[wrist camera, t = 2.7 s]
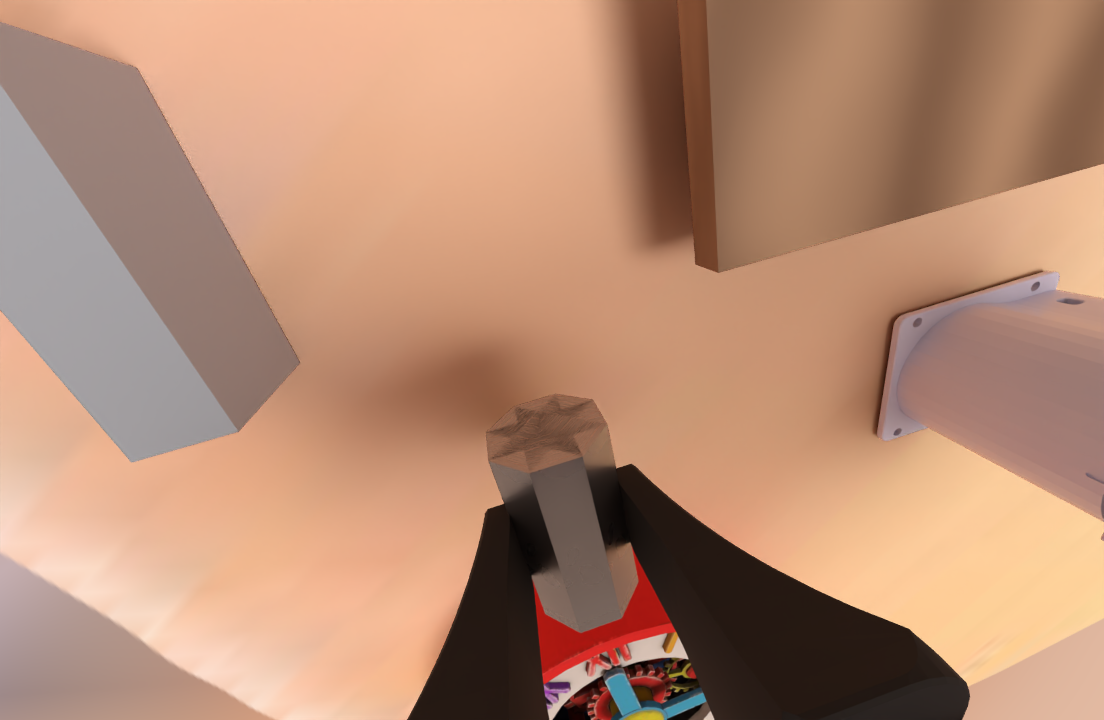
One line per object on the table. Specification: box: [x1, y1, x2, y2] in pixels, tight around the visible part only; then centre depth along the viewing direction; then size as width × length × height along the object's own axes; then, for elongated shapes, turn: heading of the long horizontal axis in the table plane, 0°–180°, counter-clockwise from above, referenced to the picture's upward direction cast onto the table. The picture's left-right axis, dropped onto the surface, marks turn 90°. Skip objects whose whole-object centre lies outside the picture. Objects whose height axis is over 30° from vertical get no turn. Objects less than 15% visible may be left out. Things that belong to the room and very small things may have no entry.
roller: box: [486, 394, 639, 633], centre depth 12 cm, size 3×6×3 cm, turn 13°
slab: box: [677, 0, 1104, 273], centre depth 13 cm, size 16×9×2 cm, turn 103°
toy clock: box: [533, 548, 714, 720], centre depth 25 cm, size 20×6×20 cm
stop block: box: [0, 22, 300, 462], centre depth 12 cm, size 3×10×5 cm, turn 13°
